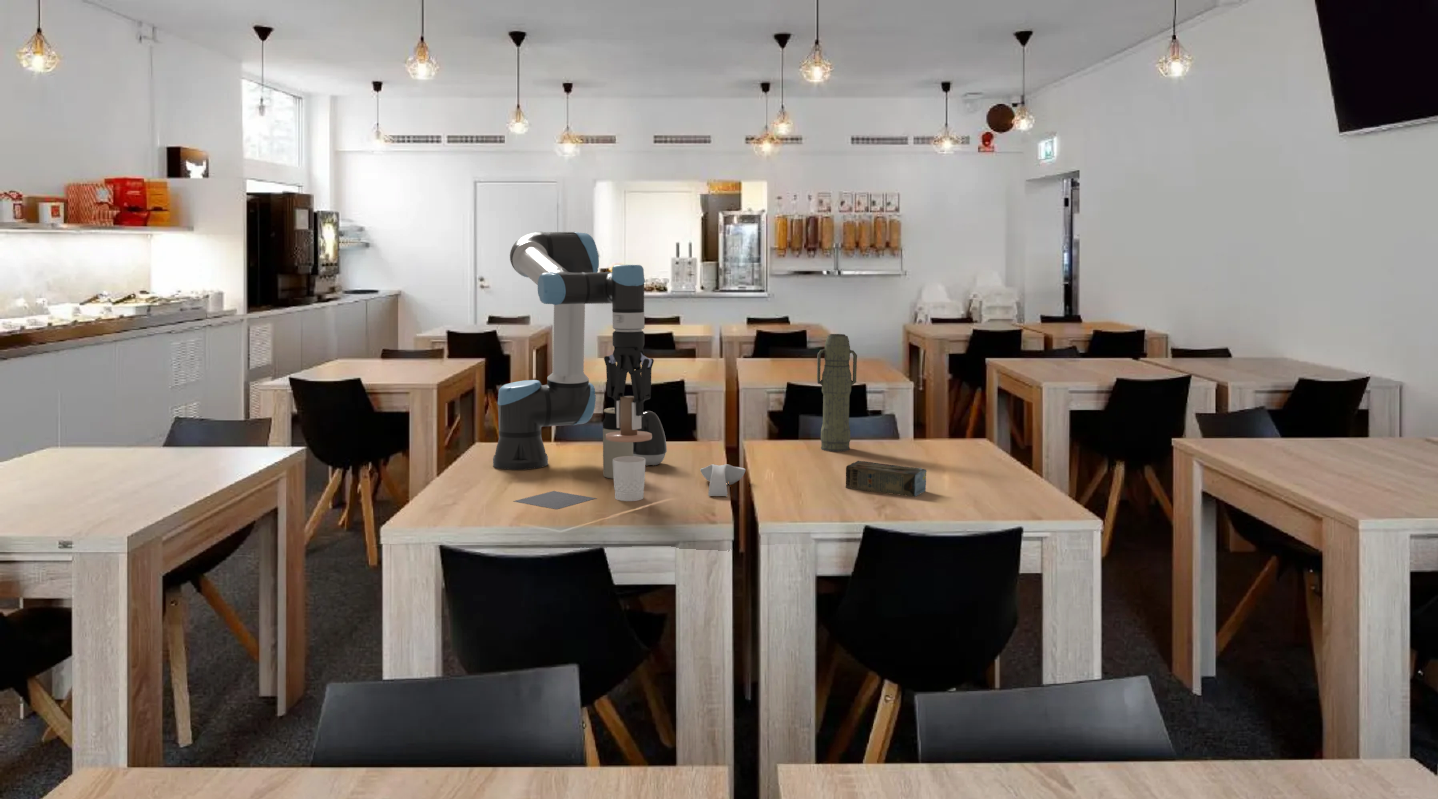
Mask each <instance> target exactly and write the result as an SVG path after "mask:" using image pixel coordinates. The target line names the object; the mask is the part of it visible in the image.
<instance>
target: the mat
mask: <svg viewBox="0 0 1438 799" xmlns="http://www.w3.org/2000/svg"><path fill="white" fill-rule="evenodd" d="M592 500H597V498H596V497H592V496H585V495H582V494H581V495H579V494H573V493H569V492H561V491H556V490H552V491H547V492H544V493H540V494H536V495H533V496H528V497H525V498H520V499H517V500H516V499H515V500H513V501H512V502H514V503H520V504H524V505H530V506H536V507H541V508H546V509H547V508H548V509H552V510H560V509H564V508H567V507H570V506H575V505H578V504H582V503H586V502H588V501H592Z"/></svg>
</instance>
